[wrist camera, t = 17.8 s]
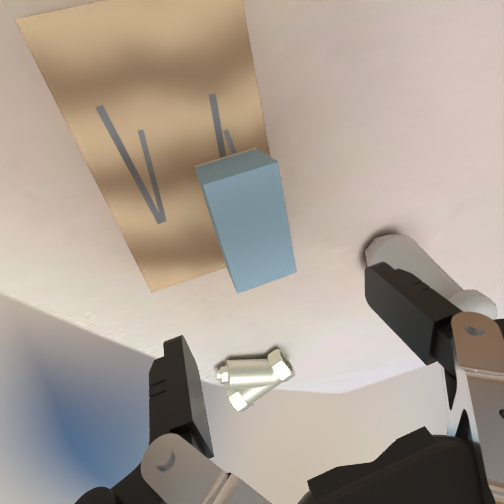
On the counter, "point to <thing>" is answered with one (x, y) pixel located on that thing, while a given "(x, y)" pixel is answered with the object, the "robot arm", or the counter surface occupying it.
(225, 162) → the block
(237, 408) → the pipe fitting
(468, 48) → the counter surface
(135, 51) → the oak board
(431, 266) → the salt shaker
